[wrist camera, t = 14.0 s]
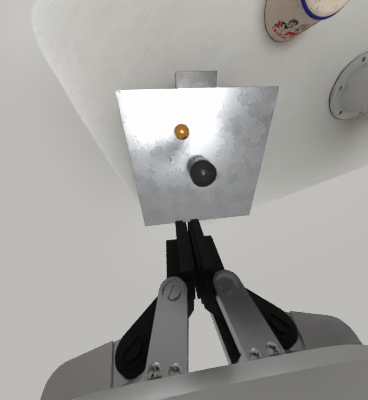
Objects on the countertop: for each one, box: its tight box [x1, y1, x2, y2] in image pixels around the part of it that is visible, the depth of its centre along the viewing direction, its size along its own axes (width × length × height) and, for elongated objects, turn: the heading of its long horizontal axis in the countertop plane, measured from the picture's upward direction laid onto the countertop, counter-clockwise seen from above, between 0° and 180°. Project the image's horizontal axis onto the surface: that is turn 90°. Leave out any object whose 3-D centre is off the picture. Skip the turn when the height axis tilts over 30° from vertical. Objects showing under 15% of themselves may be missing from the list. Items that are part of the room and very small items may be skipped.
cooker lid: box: [115, 86, 279, 226], centre depth 24 cm, size 22×22×4 cm
